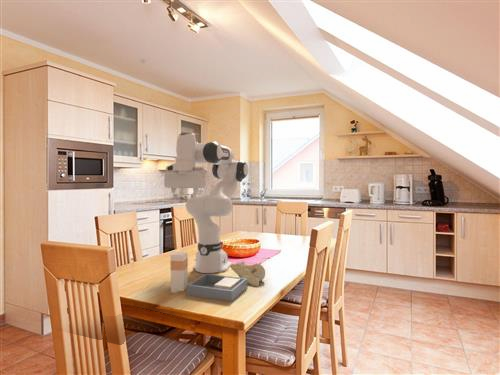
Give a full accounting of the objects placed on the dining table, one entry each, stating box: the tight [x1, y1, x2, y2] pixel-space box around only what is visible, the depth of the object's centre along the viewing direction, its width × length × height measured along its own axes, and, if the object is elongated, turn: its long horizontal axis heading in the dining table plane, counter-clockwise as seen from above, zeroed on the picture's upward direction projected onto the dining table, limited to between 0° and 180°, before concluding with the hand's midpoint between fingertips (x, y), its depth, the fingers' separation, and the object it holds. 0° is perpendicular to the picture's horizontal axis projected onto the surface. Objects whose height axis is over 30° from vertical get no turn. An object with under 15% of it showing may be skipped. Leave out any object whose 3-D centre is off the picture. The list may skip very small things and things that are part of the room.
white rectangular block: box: [214, 277, 240, 290], centre depth 128 cm, size 10×7×4 cm
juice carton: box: [170, 251, 189, 294], centre depth 134 cm, size 6×6×16 cm
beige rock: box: [230, 260, 266, 287], centre depth 143 cm, size 15×7×15 cm
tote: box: [185, 273, 249, 303], centre depth 130 cm, size 16×20×5 cm
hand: (184, 198), depth 142 cm, fingers open, 8 cm apart
